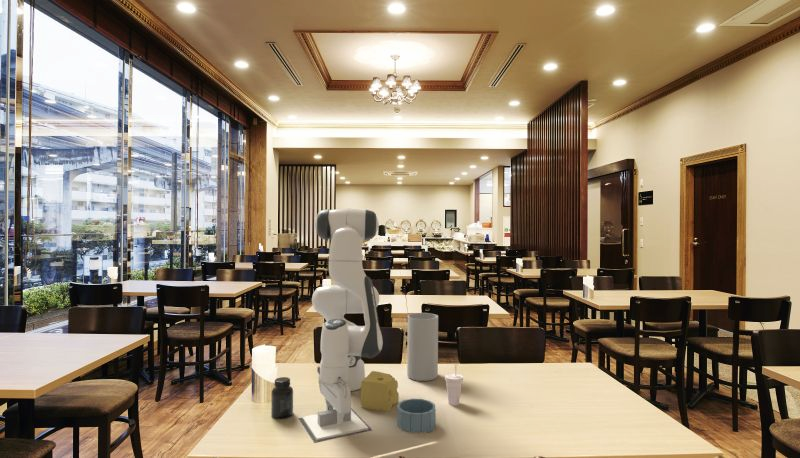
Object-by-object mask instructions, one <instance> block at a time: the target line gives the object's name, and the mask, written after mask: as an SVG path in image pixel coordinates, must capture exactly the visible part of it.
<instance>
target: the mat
mask: <svg viewBox="0 0 800 458" xmlns="http://www.w3.org/2000/svg"><path fill="white" fill-rule="evenodd" d="M351 410H352V411H353V412H354V413H355V414H356V415H357V416H358V417H359V418H360V419H361V420H362V421H363V422H364V424H365V425H366V426H367V427H368V430H363V431H358V432H354V433H349V434H345V435H340V436H335V437H331V438H326V439H322V440H316V439H315V437H314V436H313V434H312V433H311V431H310V430H309V428H308V427H307V425H306V424H305V422H304V421H303V419H302V417H299V418H298V420H299V422H300V423H301V425H302V426H303V427H304V430H305V431H306V432H307V434H308V435H309V437H310V438H311V440H312V441H313V443H314V444H315V443H320V442H325V441H330V440H334V439H338V438H344V437H348V436H352V435H356V434H362V433H365V432H371V431H373V429H372V428H371V427H370V425H369V424H367V423H366V422H365V420H363V418H362V417H361V416H359V414H357V412H356V411H355V410H354V409H353V408H352V407H351Z"/></svg>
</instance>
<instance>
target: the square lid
mask: <svg viewBox="0 0 800 458" xmlns="http://www.w3.org/2000/svg"><path fill="white" fill-rule="evenodd" d="M358 416H359V415H358ZM358 416H357V415H356V414H355V413H354V412H353V411H352V410H351V411H350V413H346V414H344V417H343V423H342V424H337V422H336V417H337V411H336V410H335V409H334V408H333V410H328V411H327V410H323V411H318V412H317V414H310V415H305V416H302V417H301V418H302V419H303V421H304V422H305V424H306V425H307V427H308V428H309V430H310V431H311V433H312V434H313V436H314V437H315V439H316V440H322V439H326V438H331V437H335V436H340V435H345V434H349V433H354V432H358V431H363V430H368V427H367V426H366V425H365V424H364V422H365V421H364V420H363V419H362V418H361V417H360V416H359V417H360V418H361V419H362V420H363V421H364V422H363V421H362V420H361V419H360V418H359V417H358Z"/></svg>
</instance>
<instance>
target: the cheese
mask: <svg viewBox="0 0 800 458" xmlns="http://www.w3.org/2000/svg"><path fill="white" fill-rule="evenodd" d="M398 388H399V384H398V380H397V379H395V377H393V375H391V374H390V373H387V372H386V373H385V372H381V371H375V370H373V371H371V372H369V374H368V375H367V376H365V379H363V380H362V382H361V388H360V405H361V409H368V410H375V411H376V410H377V411H383V412H389V411H390V410H391V409H392V407H393V406H395V405H396V404H398V403H399V398H400V397H399V392H398Z"/></svg>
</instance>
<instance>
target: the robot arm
mask: <svg viewBox="0 0 800 458" xmlns="http://www.w3.org/2000/svg"><path fill="white" fill-rule="evenodd" d="M314 229H315V231H316V233H317V236H318V237H319V238H320V239H322V240H324V241H325V243H328V241H329V240H330V245H329V252H328V273H329V277H330V279H331V280H332V282H333V283H334V285H333V284H331V285H330V284H329V285H325V286H320V287H317V288H316V289H315V290H314V292H313V293H312V295H311V296H312V297H311V303H312V307H313V309H314V310H315V311H316V312H317V313H318V314H320V315H321V317H323V318H324V320H325V321H324V323H323V324H322V328H321V335H320V353H321V360H320V364H319V365H317V367H316V370H317V373H318V388H319V391H320V394H321V395H322V396H323V398H324V400H325V408H326V410H325V411H328V410H333V409H335V410H336V411H337V417H336V422H337V424H342V423H343V417H344V414H346V413H350V411H351V408H352V398H351V397H352V396H351V392H354V391H358V390H361V382H362V380H363V379H365V378H366V371H365V370H366V369H365V362H364V361H363V360H362V358H366V359H373V358H375V357H376V356H378V355H379V354H380V353H381V352H382V349H383V344H384V342H383V335H382V331H381V330H382V329H381V326H380V322H379V315H378V309H377V308H378V306H379V303H380V294H379V292H378V290H377V288H376V287H375V286H374V285H373V284H374V283H373V281H372V278H371V277H369V276H368V275H366V272H365V271H364V267H363V248H362V240H364V241H367V240H372V239H374V237H376V235H377V234H378V230H379V219H378V216H377V214H376V213H375V211H373V210H369V209H365V210H363V209H357V208H344V209H343V208H342V209H341V208H340V209H338V208H337V209H336V208H335V209H322V210H320V211H319V212H318V213H317V215H316V218H315V221H314ZM346 314H363V318H364V319H363V320H364V324H365V325H357V324H355V323H354V322H351V321H349V320H347V319H346V318H345V317H344V316H345V315H346Z"/></svg>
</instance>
